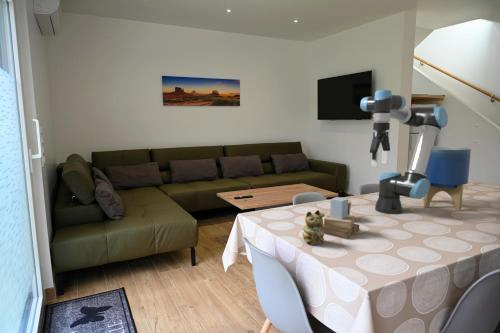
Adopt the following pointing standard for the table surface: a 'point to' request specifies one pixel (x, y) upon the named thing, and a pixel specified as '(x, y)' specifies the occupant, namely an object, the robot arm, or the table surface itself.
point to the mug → (349, 207)
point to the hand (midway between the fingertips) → (379, 164)
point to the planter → (448, 173)
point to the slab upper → (339, 223)
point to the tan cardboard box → (341, 231)
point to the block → (339, 208)
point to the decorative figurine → (313, 227)
